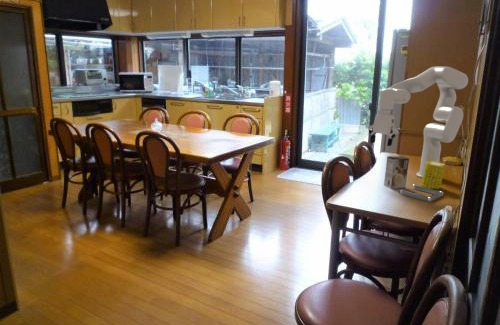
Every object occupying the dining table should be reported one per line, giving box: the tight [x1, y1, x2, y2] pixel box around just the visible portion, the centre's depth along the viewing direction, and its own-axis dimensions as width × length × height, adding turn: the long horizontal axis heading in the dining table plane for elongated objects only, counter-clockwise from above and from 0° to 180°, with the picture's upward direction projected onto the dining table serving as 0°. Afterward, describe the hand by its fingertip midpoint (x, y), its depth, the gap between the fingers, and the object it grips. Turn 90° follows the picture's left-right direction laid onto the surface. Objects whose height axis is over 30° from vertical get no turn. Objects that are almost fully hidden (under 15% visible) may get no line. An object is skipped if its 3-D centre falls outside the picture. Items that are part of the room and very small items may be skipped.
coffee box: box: [383, 155, 410, 189], centre depth 196 cm, size 9×6×16 cm
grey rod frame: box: [399, 184, 444, 203], centre depth 185 cm, size 15×15×2 cm
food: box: [420, 161, 446, 190], centre depth 196 cm, size 15×12×10 cm
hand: (380, 144), depth 200 cm, fingers open, 9 cm apart
